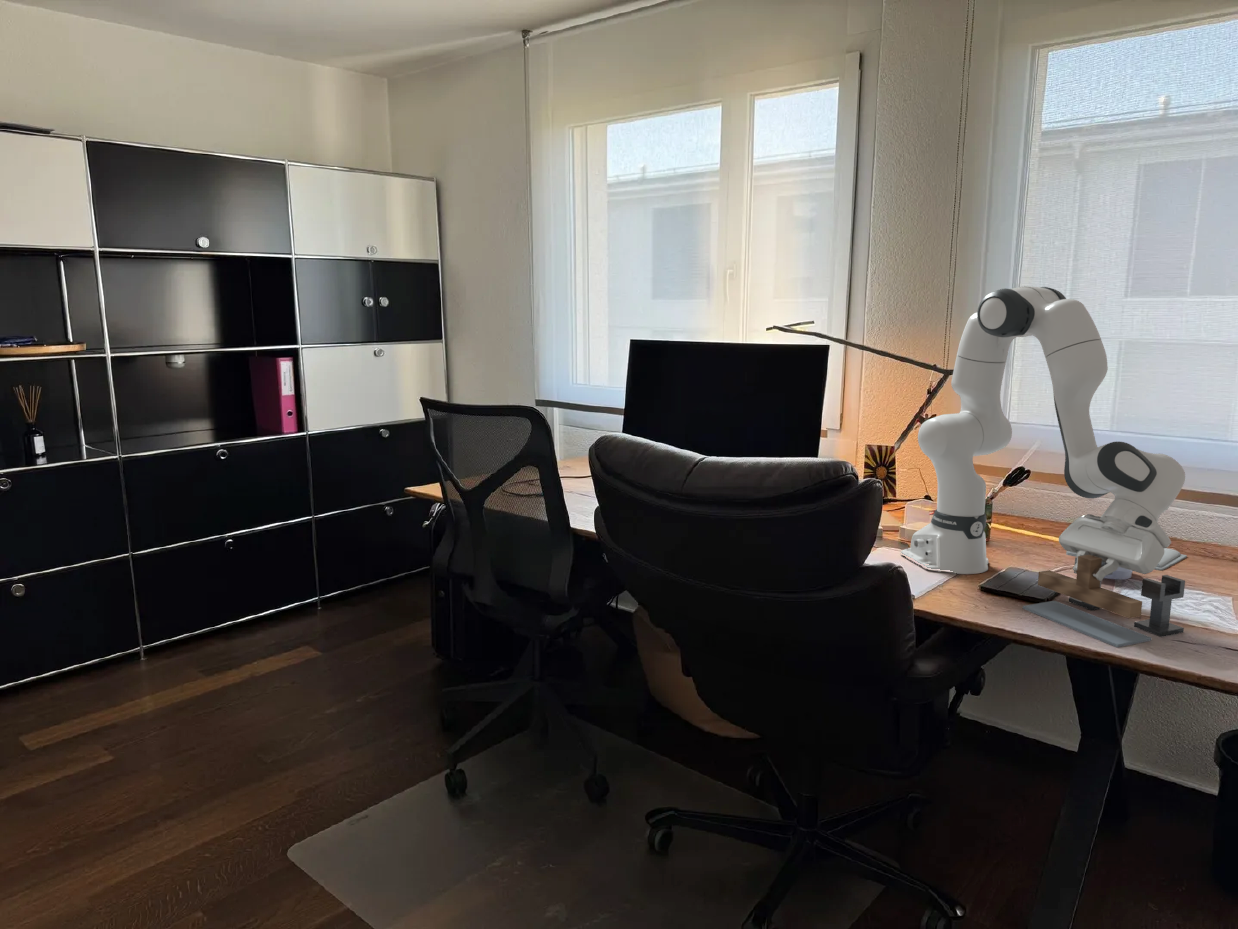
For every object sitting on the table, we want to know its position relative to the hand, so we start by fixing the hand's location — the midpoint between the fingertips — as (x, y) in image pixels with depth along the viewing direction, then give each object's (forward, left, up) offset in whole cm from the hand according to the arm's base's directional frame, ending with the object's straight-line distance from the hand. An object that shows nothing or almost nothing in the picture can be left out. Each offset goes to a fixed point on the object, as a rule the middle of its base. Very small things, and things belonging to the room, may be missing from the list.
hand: (1086, 575), depth 172 cm
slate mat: (0, +1, -11) cm, 11 cm away
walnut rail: (0, +1, -5) cm, 5 cm away
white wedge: (-21, +33, -11) cm, 40 cm away
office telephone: (-32, +51, -11) cm, 61 cm away
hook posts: (0, +12, -11) cm, 16 cm away
